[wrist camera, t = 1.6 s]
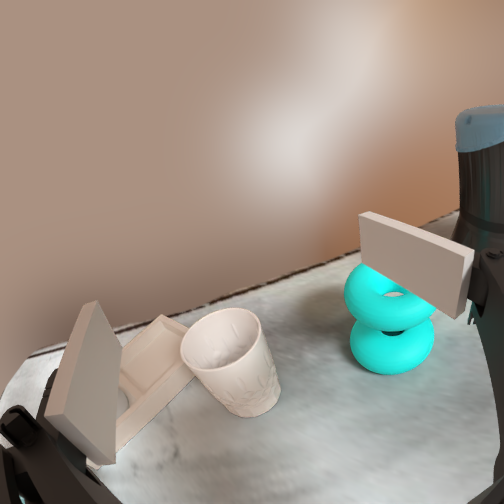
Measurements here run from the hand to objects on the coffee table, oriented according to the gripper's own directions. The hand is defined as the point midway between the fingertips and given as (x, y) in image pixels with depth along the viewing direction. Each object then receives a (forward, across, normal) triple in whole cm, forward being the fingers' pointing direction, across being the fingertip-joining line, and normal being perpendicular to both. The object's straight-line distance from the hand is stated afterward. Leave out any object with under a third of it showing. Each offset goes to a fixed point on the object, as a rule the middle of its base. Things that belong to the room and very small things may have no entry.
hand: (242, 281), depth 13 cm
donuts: (+7, +16, -18) cm, 25 cm away
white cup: (+10, -1, -20) cm, 22 cm away
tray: (+18, -16, -21) cm, 32 cm away
